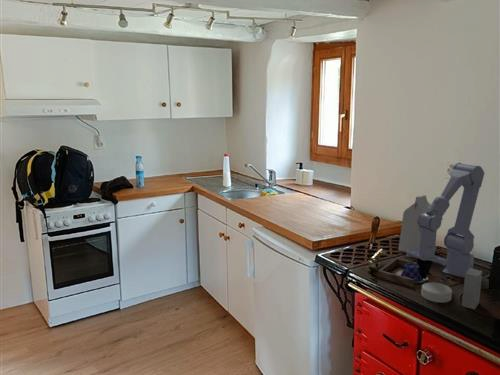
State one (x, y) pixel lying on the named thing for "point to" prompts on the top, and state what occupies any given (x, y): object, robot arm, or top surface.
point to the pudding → (412, 272)
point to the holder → (399, 279)
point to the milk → (412, 225)
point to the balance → (376, 260)
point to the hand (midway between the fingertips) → (424, 277)
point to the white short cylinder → (436, 292)
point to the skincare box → (472, 288)
